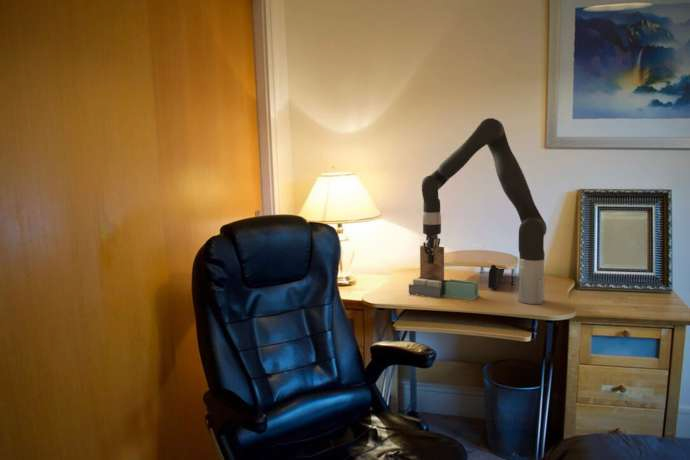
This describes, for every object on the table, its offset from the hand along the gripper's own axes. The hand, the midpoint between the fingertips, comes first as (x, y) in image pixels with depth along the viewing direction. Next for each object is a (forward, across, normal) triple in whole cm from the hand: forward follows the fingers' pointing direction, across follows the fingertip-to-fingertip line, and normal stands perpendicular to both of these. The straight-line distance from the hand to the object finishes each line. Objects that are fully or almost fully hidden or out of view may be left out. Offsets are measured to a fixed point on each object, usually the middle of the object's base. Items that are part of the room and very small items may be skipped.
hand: (432, 262), depth 220 cm
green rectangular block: (+13, -2, -14) cm, 19 cm away
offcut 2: (+12, -5, -3) cm, 13 cm away
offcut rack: (+13, -4, 0) cm, 13 cm away
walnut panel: (+7, 0, 0) cm, 7 cm away
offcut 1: (+12, -5, +3) cm, 13 cm away
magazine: (+13, +28, -20) cm, 37 cm away
